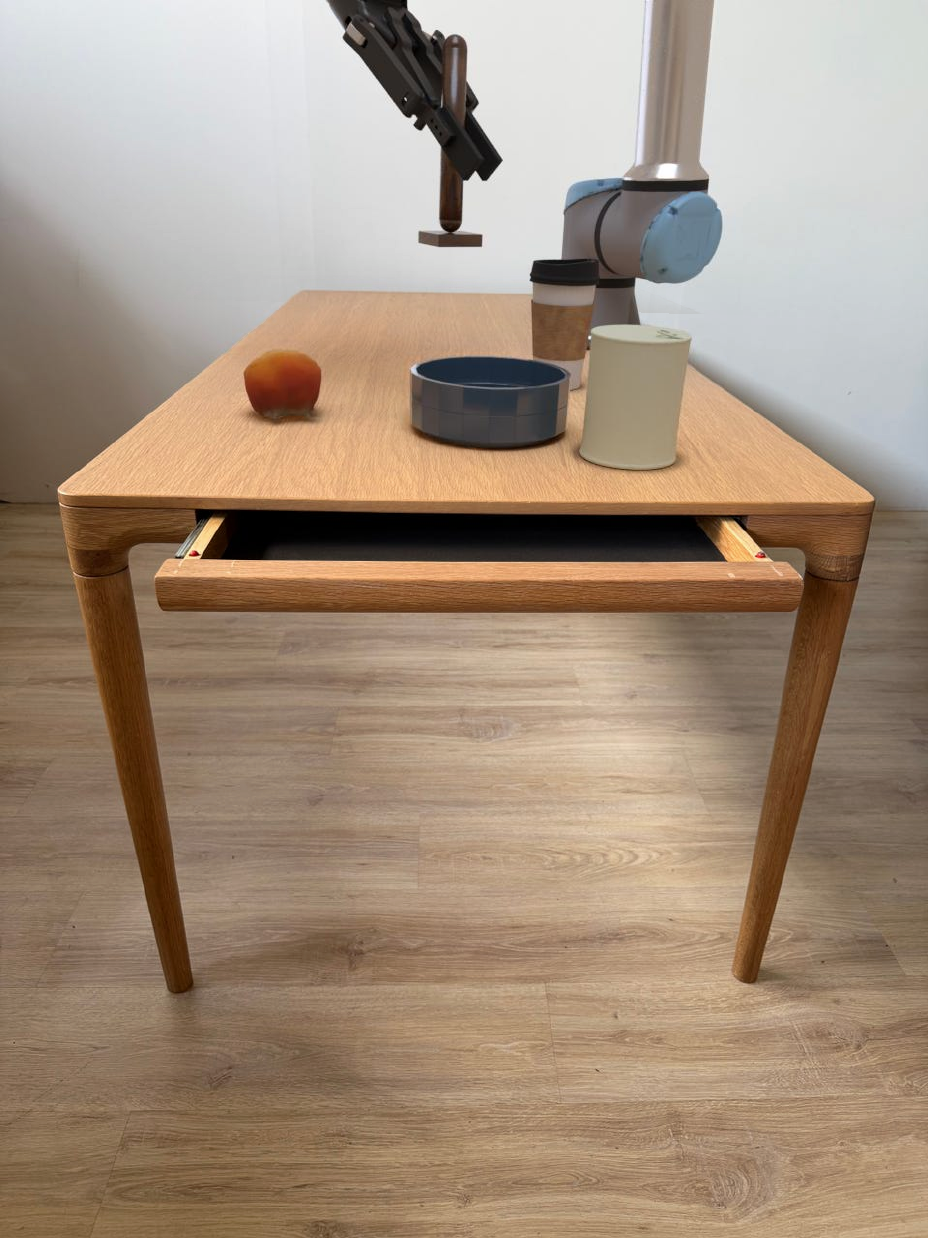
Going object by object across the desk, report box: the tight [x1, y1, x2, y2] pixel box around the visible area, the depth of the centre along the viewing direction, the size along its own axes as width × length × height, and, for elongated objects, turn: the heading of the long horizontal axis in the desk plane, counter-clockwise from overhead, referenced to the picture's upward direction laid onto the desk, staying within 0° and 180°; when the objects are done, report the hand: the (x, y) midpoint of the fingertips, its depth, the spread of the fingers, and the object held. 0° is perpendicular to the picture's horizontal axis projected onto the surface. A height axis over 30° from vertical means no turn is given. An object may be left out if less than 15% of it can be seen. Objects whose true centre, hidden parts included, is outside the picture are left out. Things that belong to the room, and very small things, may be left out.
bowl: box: [409, 355, 571, 449], centre depth 95 cm, size 16×16×6 cm
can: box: [578, 324, 693, 471], centre depth 86 cm, size 9×9×12 cm
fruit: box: [243, 348, 322, 422], centre depth 97 cm, size 8×8×8 cm
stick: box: [417, 33, 484, 248], centre depth 91 cm, size 5×5×19 cm
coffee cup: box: [529, 258, 600, 391], centre depth 113 cm, size 8×8×15 cm
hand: (483, 169), depth 90 cm, fingers closed on stick, 2 cm apart
